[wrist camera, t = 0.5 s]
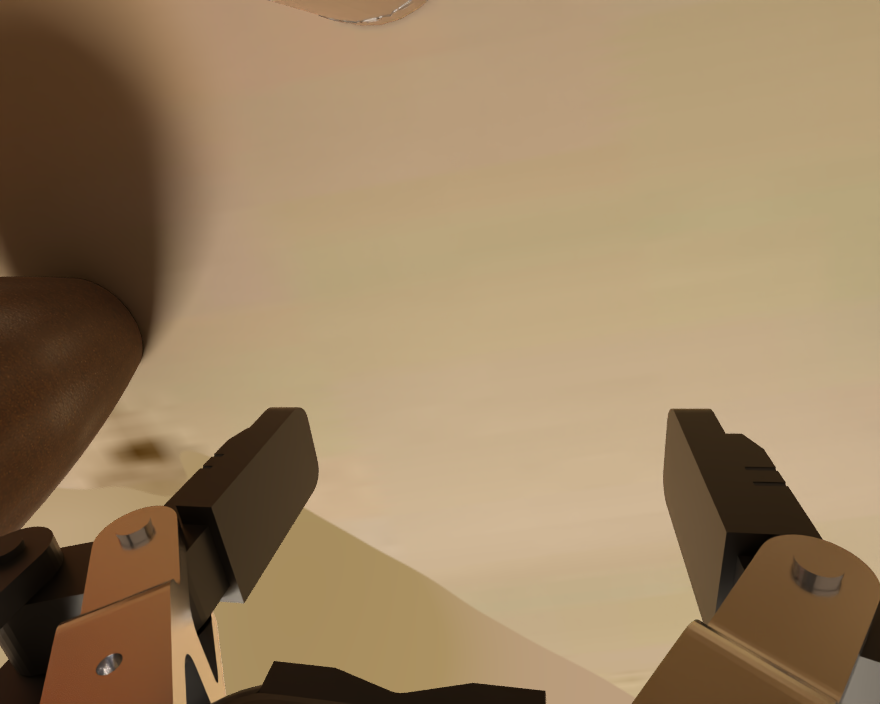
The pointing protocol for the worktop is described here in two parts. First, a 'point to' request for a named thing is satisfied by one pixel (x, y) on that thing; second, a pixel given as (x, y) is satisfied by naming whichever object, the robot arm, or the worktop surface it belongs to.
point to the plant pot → (56, 382)
